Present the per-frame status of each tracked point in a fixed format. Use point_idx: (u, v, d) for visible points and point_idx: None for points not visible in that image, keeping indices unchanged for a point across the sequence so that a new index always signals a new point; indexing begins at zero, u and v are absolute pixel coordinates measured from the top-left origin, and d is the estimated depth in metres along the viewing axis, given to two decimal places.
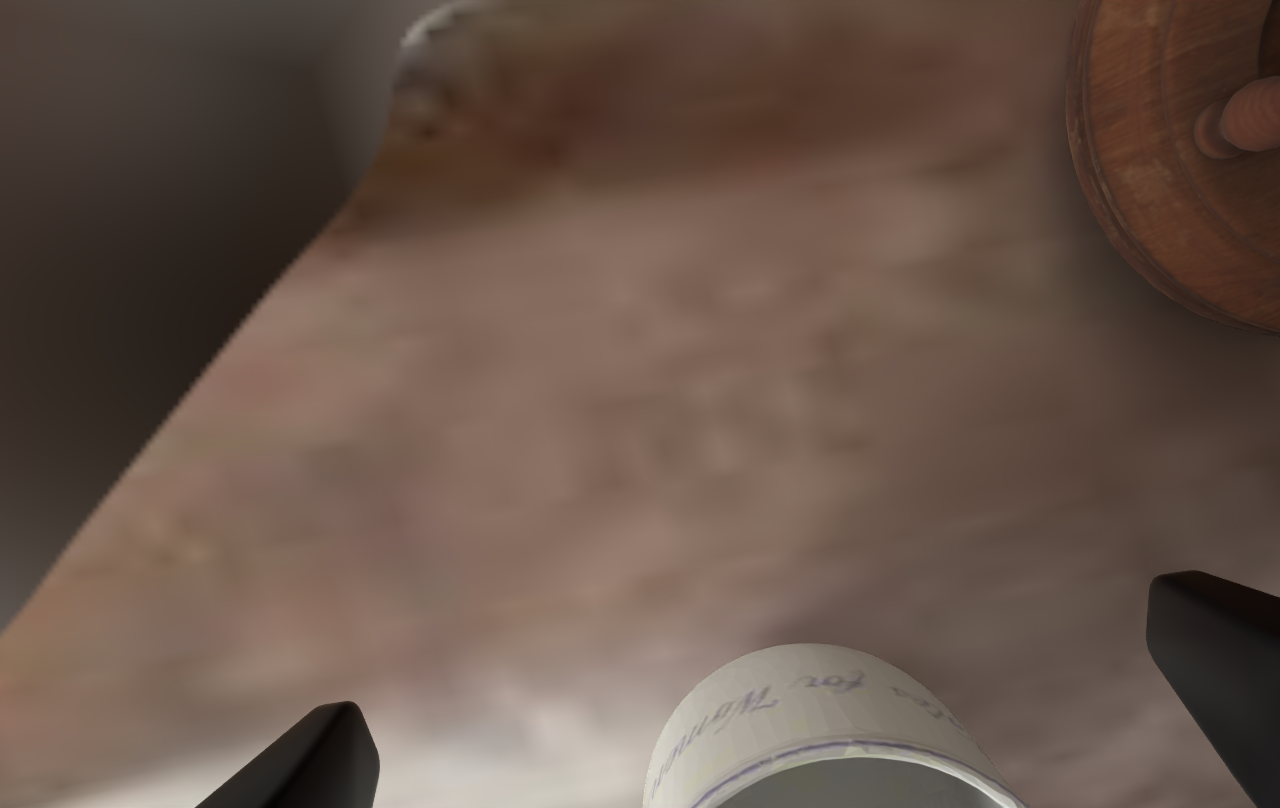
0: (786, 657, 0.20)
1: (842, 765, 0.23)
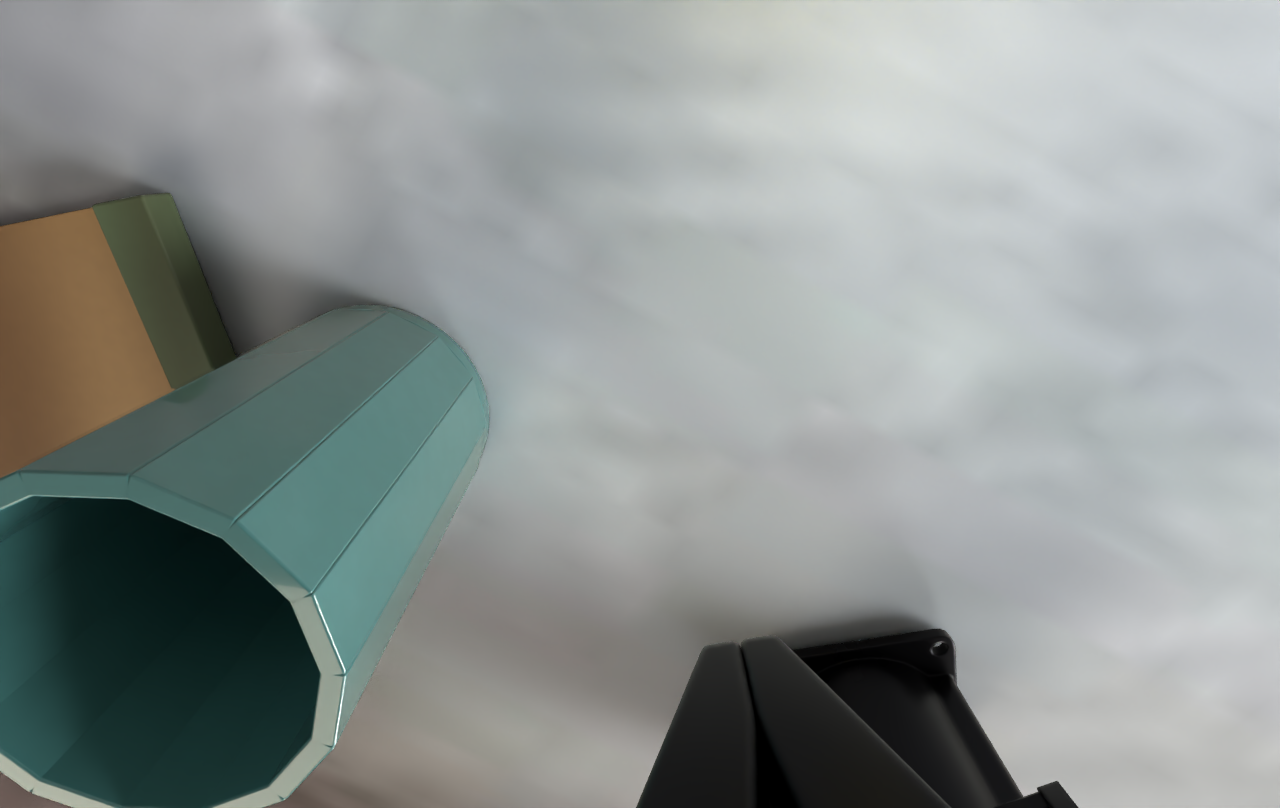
0: None
1: None
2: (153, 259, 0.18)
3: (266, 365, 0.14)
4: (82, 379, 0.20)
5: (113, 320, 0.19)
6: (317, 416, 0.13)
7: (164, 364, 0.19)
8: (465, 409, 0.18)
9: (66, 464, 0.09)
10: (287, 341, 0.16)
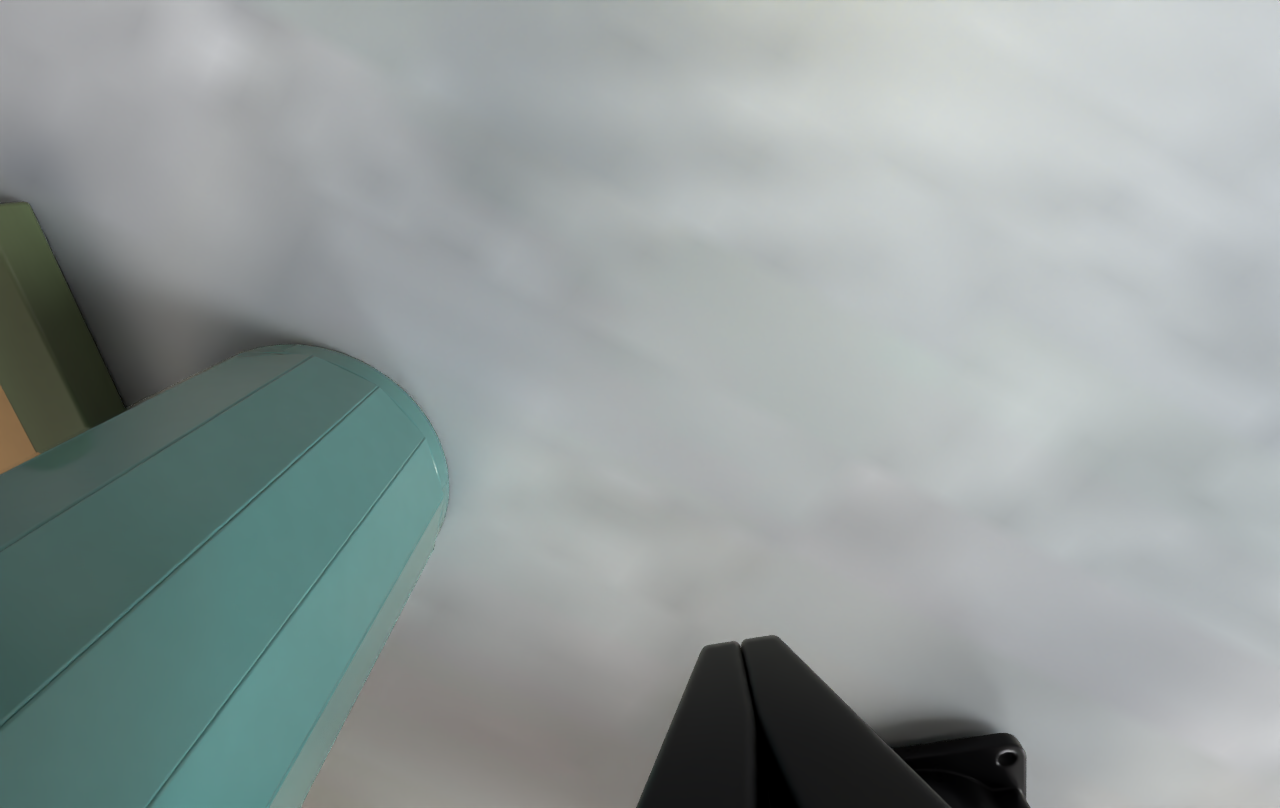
0: None
1: None
2: (0, 289, 0.14)
3: (100, 454, 0.10)
4: None
5: None
6: (152, 544, 0.08)
7: (24, 423, 0.15)
8: (411, 484, 0.14)
9: None
10: (153, 408, 0.11)
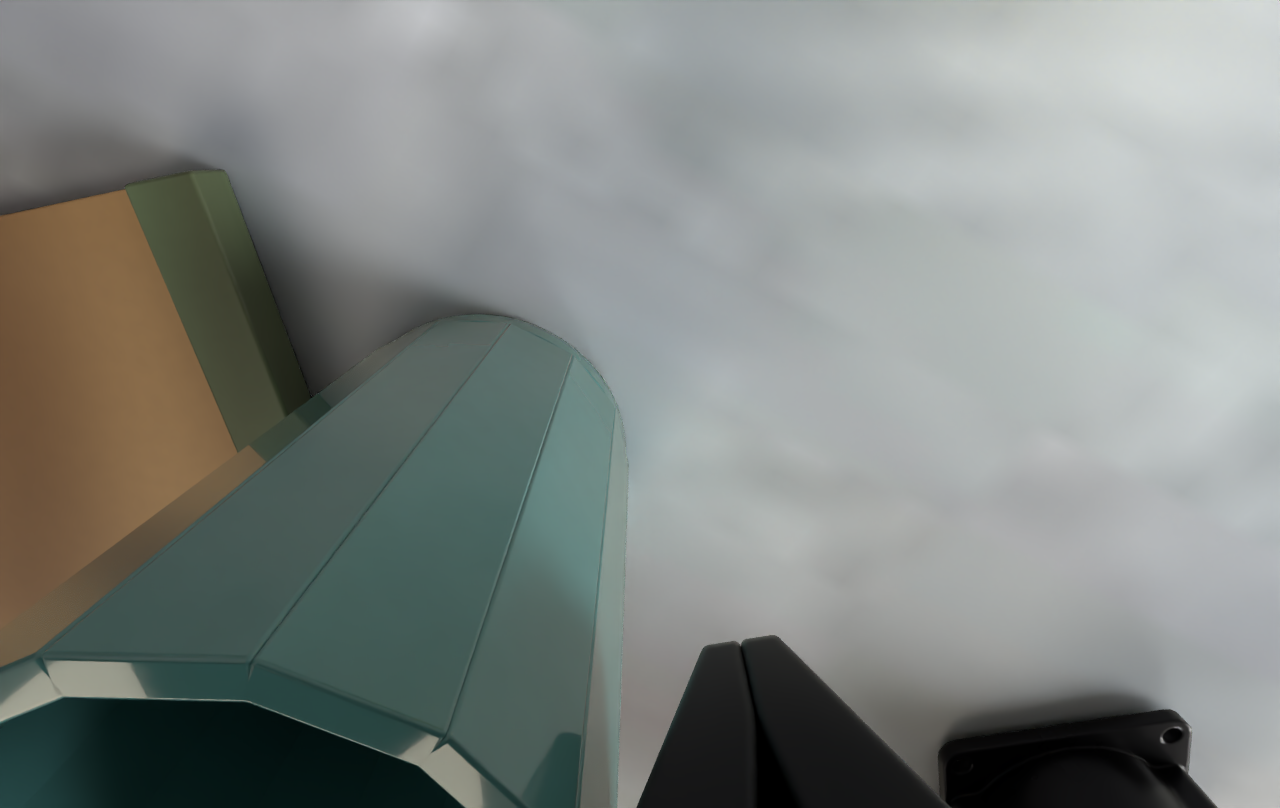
0: None
1: None
2: (205, 257, 0.14)
3: (393, 407, 0.09)
4: (109, 412, 0.16)
5: (148, 337, 0.15)
6: (492, 491, 0.08)
7: (217, 394, 0.14)
8: (617, 452, 0.14)
9: (128, 634, 0.05)
10: (403, 368, 0.11)
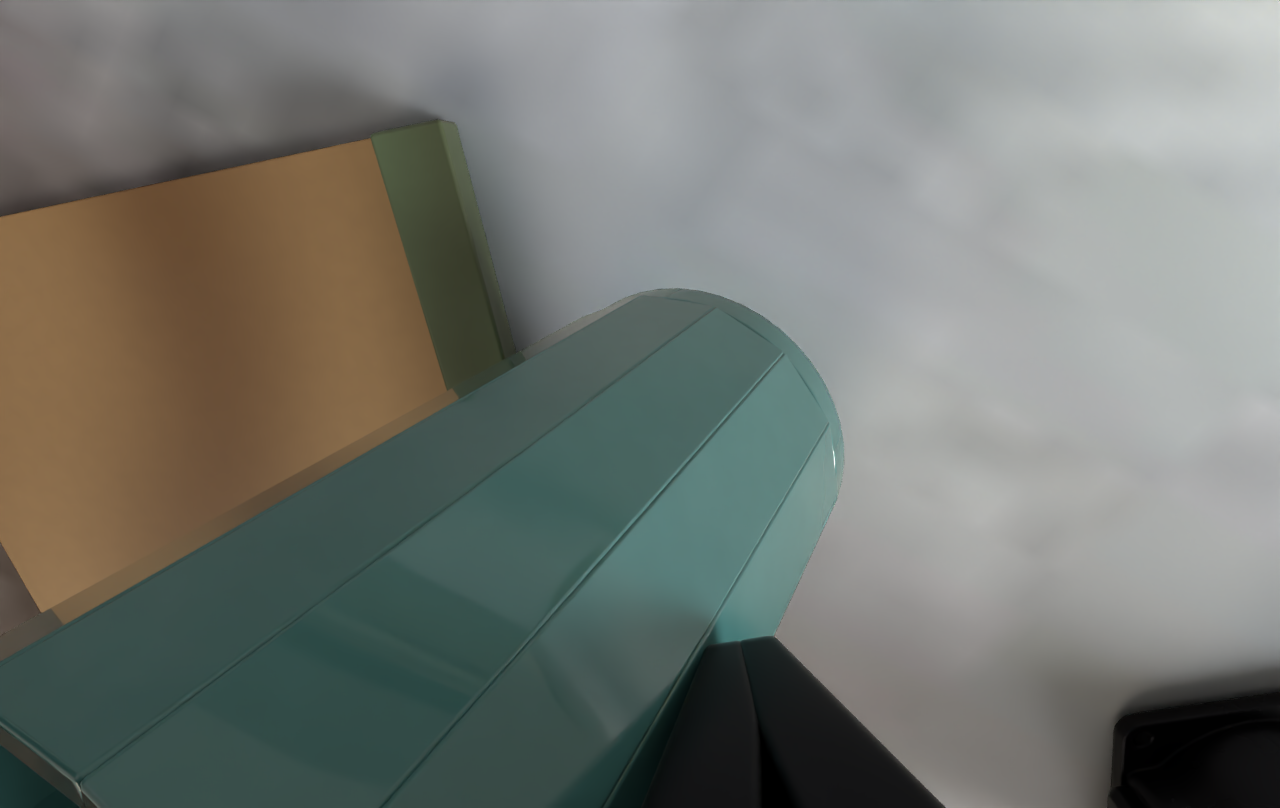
0: None
1: None
2: (444, 208, 0.13)
3: (503, 416, 0.08)
4: (315, 372, 0.15)
5: (363, 295, 0.15)
6: (547, 555, 0.07)
7: (440, 351, 0.14)
8: (811, 484, 0.11)
9: (29, 691, 0.05)
10: (556, 359, 0.10)
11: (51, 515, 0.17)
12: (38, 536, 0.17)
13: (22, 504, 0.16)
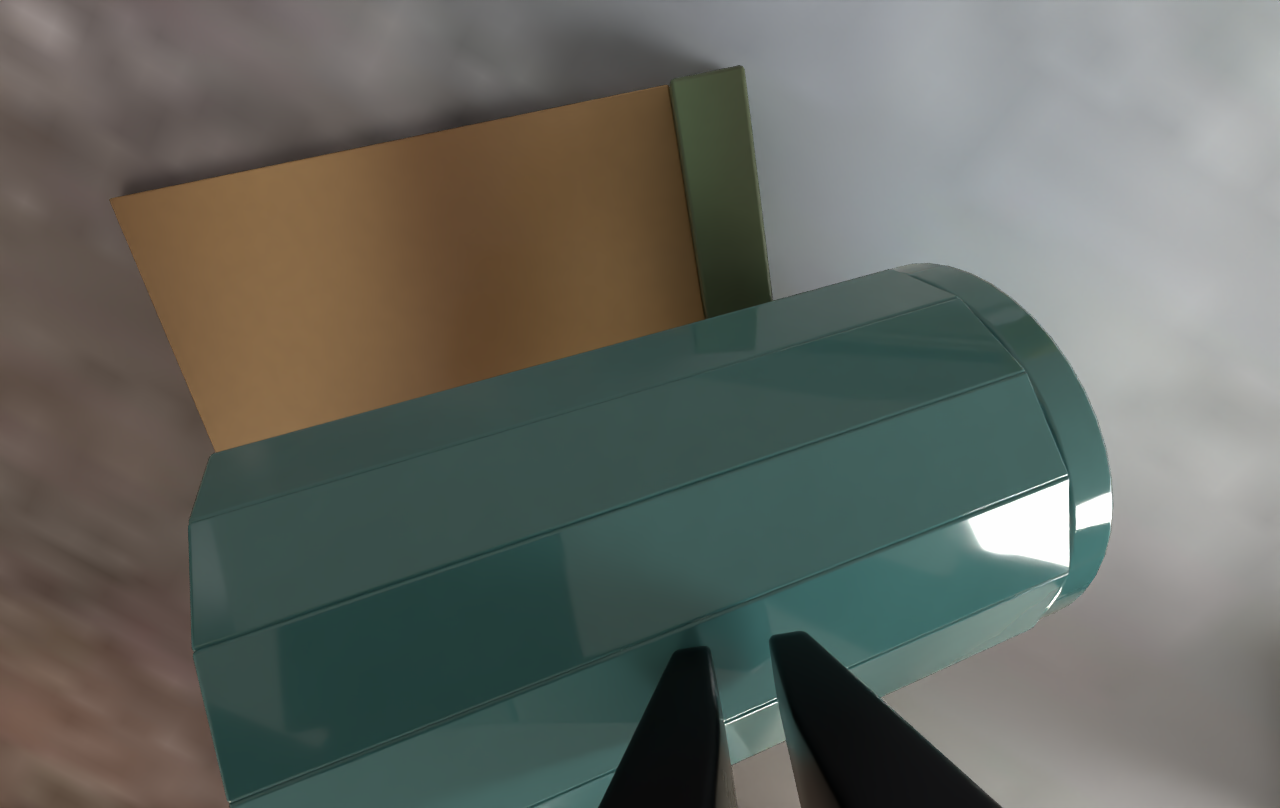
0: None
1: None
2: (735, 157, 0.13)
3: (603, 373, 0.09)
4: (567, 326, 0.15)
5: (626, 247, 0.15)
6: (528, 502, 0.08)
7: (710, 303, 0.14)
8: (980, 542, 0.09)
9: (220, 469, 0.08)
10: (712, 328, 0.10)
11: None
12: None
13: None
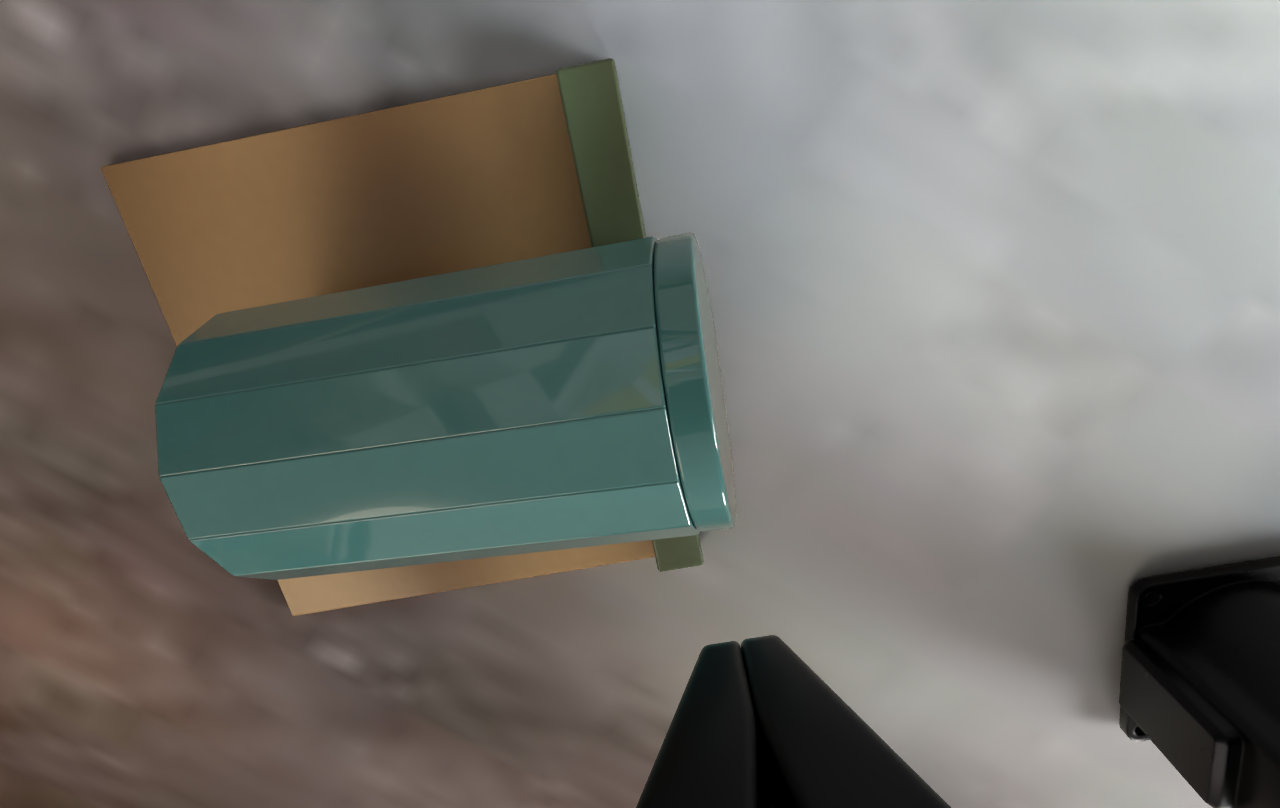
0: None
1: None
2: (610, 131, 0.17)
3: (405, 293, 0.14)
4: None
5: (530, 206, 0.18)
6: (315, 361, 0.14)
7: None
8: (588, 441, 0.12)
9: (211, 321, 0.15)
10: (493, 270, 0.14)
11: None
12: None
13: None
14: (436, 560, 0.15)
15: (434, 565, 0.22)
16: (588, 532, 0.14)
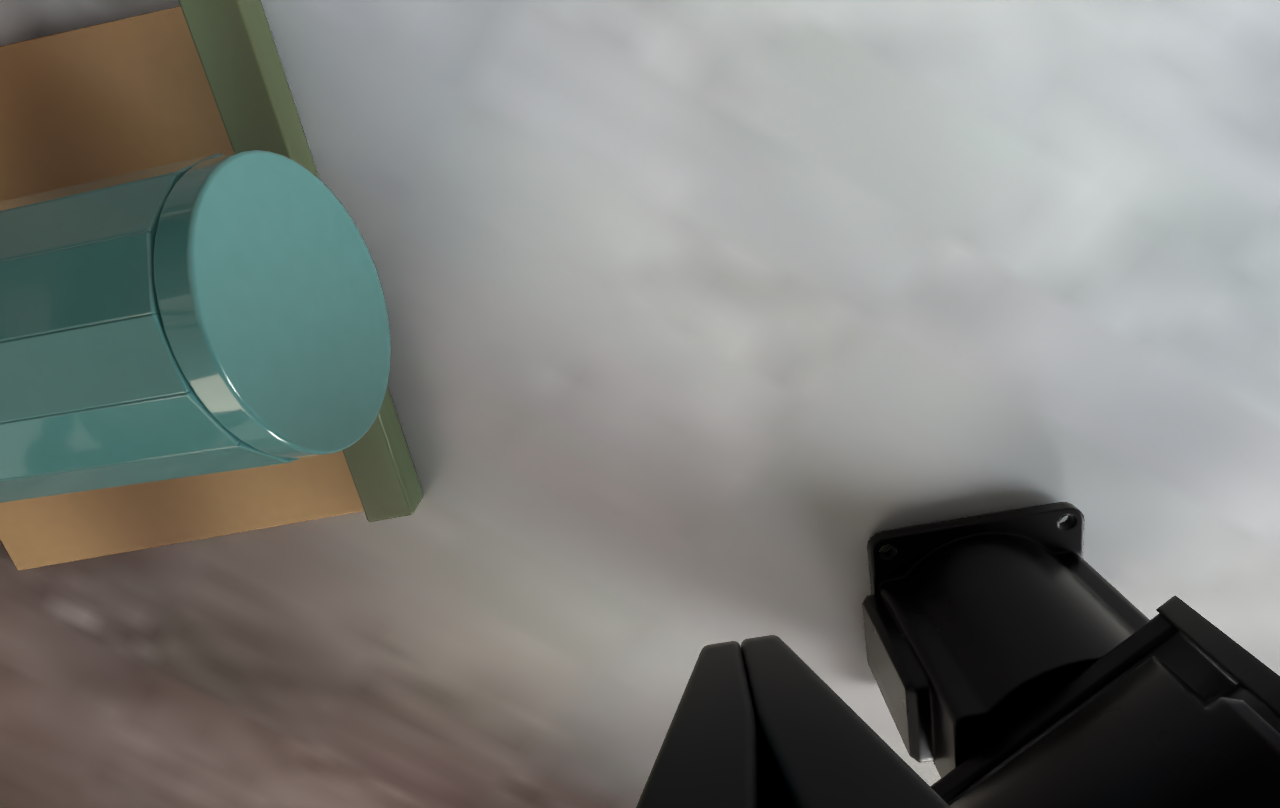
0: None
1: None
2: (242, 59, 0.16)
3: None
4: None
5: (191, 142, 0.18)
6: None
7: None
8: (90, 351, 0.12)
9: None
10: (63, 189, 0.14)
11: None
12: None
13: None
14: (35, 491, 0.15)
15: (152, 517, 0.21)
16: (139, 453, 0.13)
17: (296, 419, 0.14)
